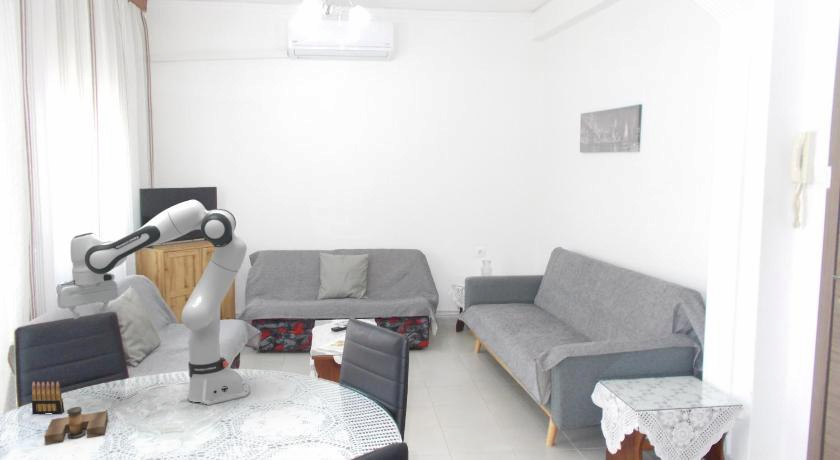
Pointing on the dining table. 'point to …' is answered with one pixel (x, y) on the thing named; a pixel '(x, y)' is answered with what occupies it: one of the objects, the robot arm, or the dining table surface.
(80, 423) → the bobbin
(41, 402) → the ammunition clip
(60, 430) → the notched board
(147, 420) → the dining table surface
